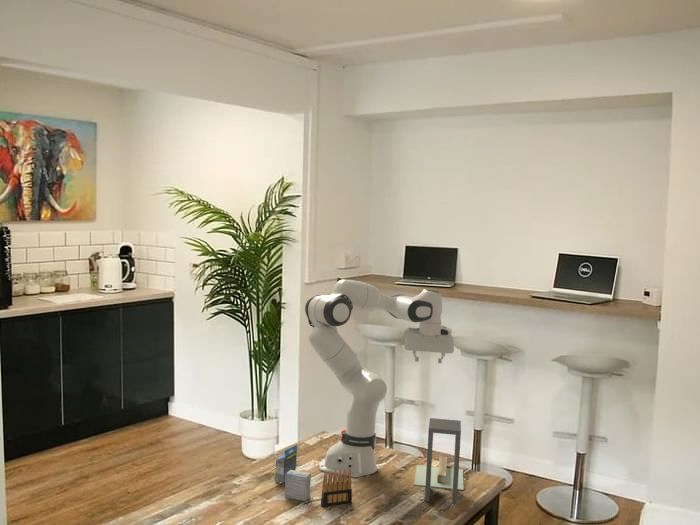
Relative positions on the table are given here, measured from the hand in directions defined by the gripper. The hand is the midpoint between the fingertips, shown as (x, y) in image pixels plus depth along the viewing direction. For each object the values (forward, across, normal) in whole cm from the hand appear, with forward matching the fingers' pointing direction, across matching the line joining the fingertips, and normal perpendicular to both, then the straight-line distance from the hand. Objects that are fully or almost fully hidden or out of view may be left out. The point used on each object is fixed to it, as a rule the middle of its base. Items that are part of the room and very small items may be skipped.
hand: (428, 362), depth 280 cm
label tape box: (+39, -49, -39) cm, 74 cm away
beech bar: (+39, +8, -19) cm, 44 cm away
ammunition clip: (+39, -27, -56) cm, 74 cm away
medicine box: (+40, -41, -54) cm, 78 cm away
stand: (+39, +8, -40) cm, 57 cm away
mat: (+39, +7, -23) cm, 46 cm away
